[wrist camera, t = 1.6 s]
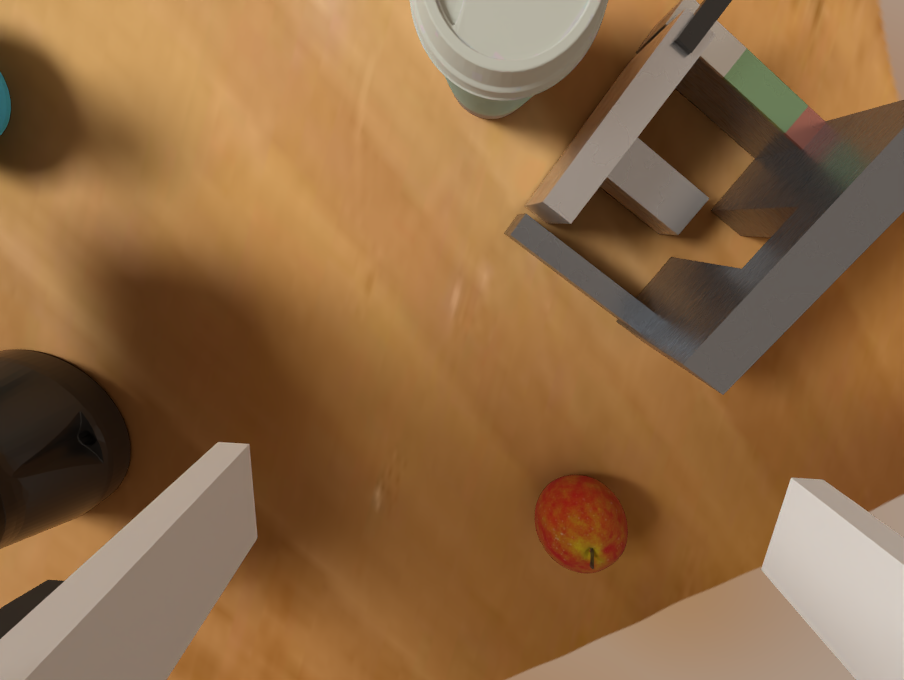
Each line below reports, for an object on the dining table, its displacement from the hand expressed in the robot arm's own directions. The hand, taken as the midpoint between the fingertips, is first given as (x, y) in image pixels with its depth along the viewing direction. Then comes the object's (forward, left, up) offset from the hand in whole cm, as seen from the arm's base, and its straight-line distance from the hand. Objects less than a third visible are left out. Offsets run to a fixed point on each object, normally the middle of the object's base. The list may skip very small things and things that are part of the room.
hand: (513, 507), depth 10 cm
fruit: (+16, -8, -23) cm, 29 cm away
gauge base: (+4, +14, -23) cm, 27 cm away
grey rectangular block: (+3, +15, -22) cm, 27 cm away
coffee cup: (-9, +14, -23) cm, 28 cm away
